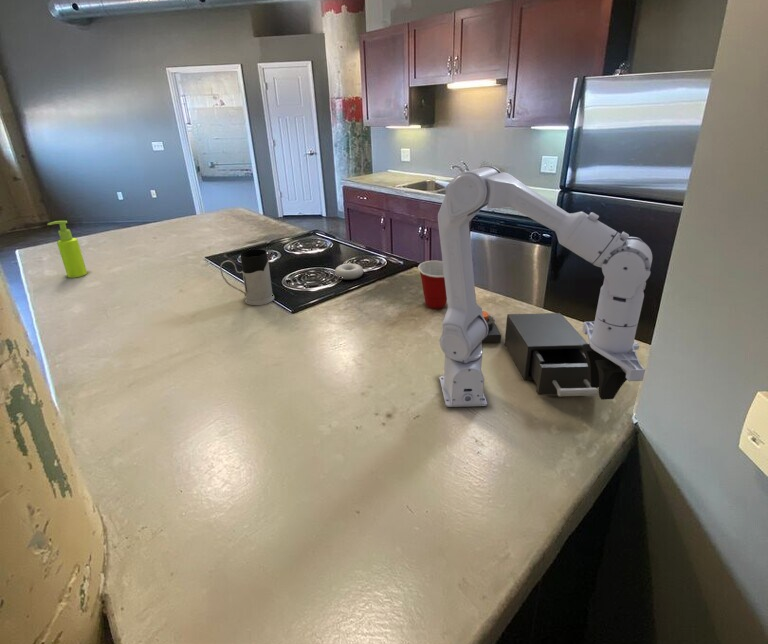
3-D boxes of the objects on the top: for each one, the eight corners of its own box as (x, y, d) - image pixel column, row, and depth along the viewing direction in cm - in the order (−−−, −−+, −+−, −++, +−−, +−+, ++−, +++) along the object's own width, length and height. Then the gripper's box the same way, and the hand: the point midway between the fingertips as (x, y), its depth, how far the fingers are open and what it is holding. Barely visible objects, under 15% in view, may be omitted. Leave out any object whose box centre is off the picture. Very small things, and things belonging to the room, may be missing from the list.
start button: (489, 323, 103) (490, 317, 103) (475, 323, 103) (475, 317, 103) (485, 316, 107) (486, 310, 106) (471, 317, 107) (472, 310, 106)
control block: (500, 342, 102) (502, 328, 100) (468, 343, 101) (468, 328, 100) (490, 323, 111) (491, 309, 109) (460, 323, 111) (461, 310, 109)
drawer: (607, 407, 77) (613, 379, 75) (546, 409, 77) (550, 380, 75) (566, 356, 94) (570, 331, 92) (516, 357, 94) (519, 332, 91)
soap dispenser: (66, 273, 152) (49, 220, 145) (88, 270, 155) (73, 218, 148) (62, 279, 147) (45, 224, 140) (85, 276, 150) (69, 221, 143)
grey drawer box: (583, 378, 87) (590, 345, 84) (524, 380, 87) (528, 346, 84) (556, 342, 101) (560, 312, 98) (504, 344, 101) (507, 314, 98)
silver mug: (276, 302, 126) (270, 255, 120) (226, 310, 121) (218, 262, 116) (272, 291, 133) (266, 247, 128) (225, 299, 129) (217, 253, 123)
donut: (341, 270, 151) (330, 279, 142) (341, 261, 150) (329, 270, 141) (367, 272, 148) (357, 282, 139) (367, 263, 147) (357, 272, 138)
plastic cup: (425, 315, 116) (425, 275, 111) (412, 299, 126) (412, 262, 121) (460, 310, 118) (462, 271, 114) (445, 295, 128) (447, 258, 124)
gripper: (674, 341, 57) (653, 421, 62) (617, 297, 70) (603, 366, 75) (622, 343, 57) (605, 423, 62) (575, 298, 70) (564, 367, 75)
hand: (601, 392), depth 68 cm, fingers closed
